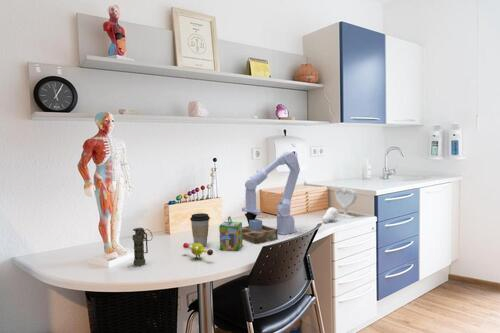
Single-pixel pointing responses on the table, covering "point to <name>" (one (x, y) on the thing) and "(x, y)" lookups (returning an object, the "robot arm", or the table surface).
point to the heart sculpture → (345, 199)
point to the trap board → (259, 234)
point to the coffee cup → (200, 228)
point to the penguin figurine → (330, 215)
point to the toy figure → (197, 249)
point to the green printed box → (230, 235)
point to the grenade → (139, 246)
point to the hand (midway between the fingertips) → (251, 226)
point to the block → (255, 225)
